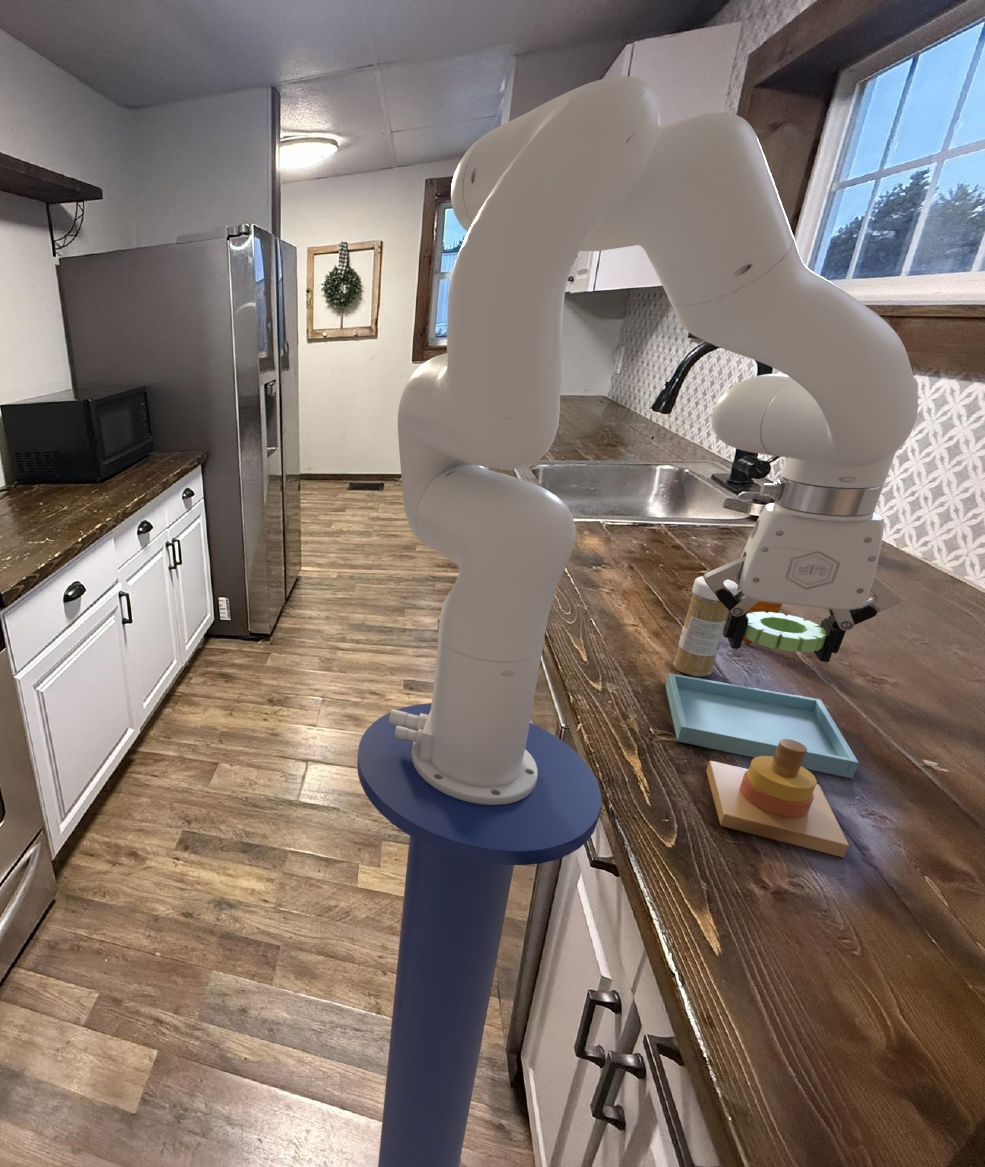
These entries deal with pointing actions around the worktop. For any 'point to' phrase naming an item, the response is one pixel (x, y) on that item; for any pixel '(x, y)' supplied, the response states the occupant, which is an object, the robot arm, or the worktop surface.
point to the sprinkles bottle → (702, 630)
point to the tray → (756, 722)
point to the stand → (777, 800)
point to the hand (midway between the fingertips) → (775, 648)
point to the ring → (784, 632)
